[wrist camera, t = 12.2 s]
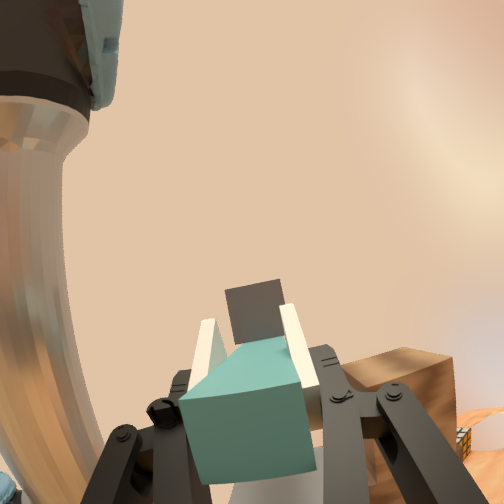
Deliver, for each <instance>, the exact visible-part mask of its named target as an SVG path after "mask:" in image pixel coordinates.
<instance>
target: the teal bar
mask: <svg viewBox="0 0 504 504" xmlns="http://www.w3.org/2000/svg"><path fill="white" fill-rule="evenodd" d="M225 294H226V300H227V305H228V310H229V316H230V321H231V326H232V331H233V336H234V341H235V345H236V344H241V343H243V344H242V345H241V346H240V347H239V348H238V349H237V350H236V351H234V352H233V353H232V354H231V355H230V356H229V357H228V358H227V359H225V360H224V361H223V362H222V363H221V364H220V365H219V366H218V367H216V368H215V369H214V370H213V371H212V372H211V373H210V374H208V375H207V376H206V377H205V378H203V379H202V380H201V381H200V382H199V383H198V384H196V385H195V386H194V387H193V388H192V389H191V390H189V391H188V392H187V393H186V394H185V395H183V396H182V397H181V398H180V399H179V400H178V402H179V406H180V410H181V414H182V418H183V422H184V426H185V430H186V433H187V437H188V441H189V444H190V448H191V451H192V455H193V458H194V461H195V465H196V468H197V471H198V474H199V478H200V481H201V484H202V485H209V484H226V483H239V482H249V481H258V480H265V479H273V478H279V477H285V476H291V475H297V474H302V473H307V472H312V471H316V470H317V467H316V461H315V455H314V450H313V444H312V439H311V433H310V427H309V422H308V417H307V411H306V406H305V400H304V395H303V390H302V385H301V380H300V378H299V375H298V373H297V370H296V368H295V365H294V363H293V360H292V359H291V356H290V354H289V351H288V349H287V346H286V343H285V340H284V338H283V335H284V329H283V324H282V318H281V313H280V308H279V306H281V305H285V302H284V297H283V292H282V287H281V283H280V279H276V280H271V281H266V282H261V283H257V284H252V285H247V286H242V287H237V288H232V289H227V290H225Z"/></svg>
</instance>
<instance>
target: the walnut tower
mask: <svg viewBox="0 0 504 504" xmlns="http://www.w3.org/2000/svg"><path fill="white" fill-rule="evenodd" d="M341 367H342V369H343V372H344V374H345V376H346V379H347V381H348V383H349V385H350V386H351V387H352V388H353V389H355V390H357V391H360V392H378V389H379V388H380V387H381V386H382V385H384V384H386V383H389V382H401V383H404V384H405V385H407V386H408V387H409V388H410V390H411V391H412V392H413V394H414V395H415V396H416V398H417V399H418V401H419V402H420V403H421V405H422V406H423V407H424V409H425V410H426V412H427V413H428V414H429V416H430V417H431V419H432V420H433V421H434V423H435V424H436V426H437V427H438V428H439V430H440V431H441V433H442V434H443V435H444V437H445V438H446V440H447V441H448V443H449V444H450V446H451V447H452V448H453V450H454V451H455V453H456V454H457V456H458V457H459V459H460V460H461V462H462V459H463V447H462V446H460V445H459V444H457V443H456V439H457V423H456V397H455V396H456V395H455V380H454V370H453V359H452V357H450V356H445V355H440V354H435V353H430V352H425V351H420V350H415V349H410V348H406V347H401V348H398V349H395V350H392V351H389V352H386V353H382V354H379V355H376V356H372V357H369V358H365V359H362V360H358V361H355V362H351V363H347V364H343V365H341ZM363 443H364V451H365V459H366V468H367V478H368V488H369V500H370V504H406V502H405V500H404V498H403V496H402V494H401V492H400V490H399V488H398V486H397V484H396V482H395V480H394V478H393V476H392V474H391V472H390V470H389V468H388V466H387V464H386V462H385V460H384V458H383V456H382V454H381V452H380V450H379V448H378V446H377V444H376V442H375V440H374V439H363Z"/></svg>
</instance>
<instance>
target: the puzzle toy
mask: <svg viewBox="0 0 504 504" xmlns="http://www.w3.org/2000/svg"><path fill="white" fill-rule="evenodd" d="M456 443H457V444H459V445H460V446H462V447H463V459H462V461H463V460H464V459H465V458H466V456H467V455H468V454H469V453H470V448H471V445H470V444H471V428H457V439H456Z"/></svg>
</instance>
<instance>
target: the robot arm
mask: <svg viewBox="0 0 504 504" xmlns="http://www.w3.org/2000/svg"><path fill="white" fill-rule="evenodd" d="M123 1H124V0H0V453H1V455H2V457H3V458H4V460H5V462H6V463H7V465H8V467H9V469H10V470H11V472H12V474H13V475H14V477H15V478H16V480H17V481H18V483H19V485H20V486H21V488H22V489H23V490H18V489H16V484H15V482H14V481H13V480H12V479H11V477H10V476H9V475H8V474H6V473H3V472H2V471H0V504H212V500H211V494H210V487H209V485H202V484H201V481H200V478H199V474H198V471H197V468H196V465H195V461H194V458H193V455H192V451H191V448H190V444H189V441H188V437H187V433H186V430H185V426H184V422H183V418H182V414H181V410H180V406H179V402H178V400H179V399H180V398H181V397H182V396H183V395H185V394H186V393H187V392H188V391H189V390H191V389H192V388H193V387H194V386H195V385H196V384H198V383H199V382H200V381H201V380H202V379H203V378H205V377H206V376H207V375H208V374H210V373H211V372H212V371H213V370H214V369H215V368H216V367H218V366H219V365H220V364H221V363H222V362H223V361H224V360H225V359H227V354H226V351H225V348H224V345H223V341H222V338H221V335H220V332H219V328H218V325H217V322H216V318H212V319H206V320H202V323H201V327H200V332H199V337H198V341H197V347H196V351H195V356H194V361H193V366H192V369H189V370H181V371H179V372H178V373H177V374H176V375H175V376H174V378H173V382H172V387H171V389H170V394H169V396H168V398H160V399H157V400H155V401H153V402H152V403H151V404H150V405H149V406H148V408H147V411H146V412H147V414H148V415H149V417H150V419H151V420H152V422H153V423H154V425H153V426H150V427H147V428H144V429H141V430H137V429H136V428H135V427H134V426H133V425H129V424H125V425H121V426H118V427H116V428H115V429H114V430H113V431H112V433H111V434H110V436H109V438H108V440H107V442H106V445H104V442H103V439H102V436H101V434H100V430H99V427H98V424H97V421H96V418H95V415H94V412H93V409H92V406H91V402H90V398H89V395H88V391H87V388H86V384H85V380H84V376H83V373H82V368H81V364H80V359H79V355H78V350H77V346H76V341H75V335H74V330H73V325H72V319H71V312H70V306H69V299H68V291H67V283H66V275H65V265H64V264H65V263H64V251H63V234H62V166H63V162H64V160H65V158H66V156H67V155H68V154H69V153H70V152H71V151H72V150H73V149H74V148H75V147H76V146H77V145H78V144H79V143H80V142H81V141H82V140H83V139H84V138H85V137H86V136H87V134H88V129H89V119H90V110H92V111H98V110H100V109H101V108H104V107H107V106H109V105H110V104H111V102H112V100H113V97H114V92H115V84H116V76H117V65H118V50H119V47H118V46H119V42H118V41H119V35H120V30H121V24H122V13H123ZM279 308H280V313H281V318H282V324H283V329H284V335H285V340H286V346H287V349H288V351H289V354H290V356H291V359H292V360H293V363H294V365H295V368H296V370H297V373H298V375H299V378H300V380H301V385H302V390H303V395H304V400H305V406H306V411H307V417H308V422H309V427H310V431H313V430H318V429H322V428H323V504H370V500H369V488H368V478H367V468H366V459H365V451H364V443H363V439H374V440H375V442H376V444H377V446H378V448H379V450H380V452H381V454H382V456H383V458H384V460H385V462H386V464H387V466H388V468H389V470H390V472H391V474H392V476H393V478H394V480H395V482H396V484H397V486H398V488H399V490H400V492H401V494H402V496H403V498H404V500H405V502H406V504H489V503H488V501H487V500H486V498H485V496H484V495H483V493H482V492H481V490H480V489H479V487H478V486H477V484H476V483H475V481H474V479H473V478H472V476H471V475H470V473H469V472H468V470H467V469H466V467H465V466H464V465H463V463H462V462H461V460H460V459H459V457H458V456H457V454H456V453H455V451H454V450H453V448H452V447H451V446H450V444H449V443H448V441H447V440H446V438H445V437H444V435H443V434H442V433H441V431H440V430H439V428H438V427H437V426H436V424H435V423H434V421H433V420H432V419H431V417H430V416H429V414H428V413H427V412H426V410H425V409H424V407H423V406H422V405H421V403H420V402H419V401H418V399H417V398H416V396H415V395H414V394H413V392H412V391H411V390H410V388H409V387H408V386H407V385H405V384H404V383H401V382H389V383H386V384H384V385H382V386H381V387H380V388H379V389H378V392H360V391H357V390H355V389H353V388H352V387H351V386H350V385H349V383H348V381H347V379H346V376H345V374H344V372H343V369H342V367H341V365H340V363H339V360H338V358H337V356H336V353H335V351H334V350H333V348H331V347H330V346H328V345H327V344H325V345H321V346H317V347H312V348H307V344H306V341H305V338H304V335H303V332H302V329H301V326H300V323H299V320H298V316H297V313H296V310H295V307H294V305H293V303H290V304H285V305H281V306H279Z"/></svg>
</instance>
